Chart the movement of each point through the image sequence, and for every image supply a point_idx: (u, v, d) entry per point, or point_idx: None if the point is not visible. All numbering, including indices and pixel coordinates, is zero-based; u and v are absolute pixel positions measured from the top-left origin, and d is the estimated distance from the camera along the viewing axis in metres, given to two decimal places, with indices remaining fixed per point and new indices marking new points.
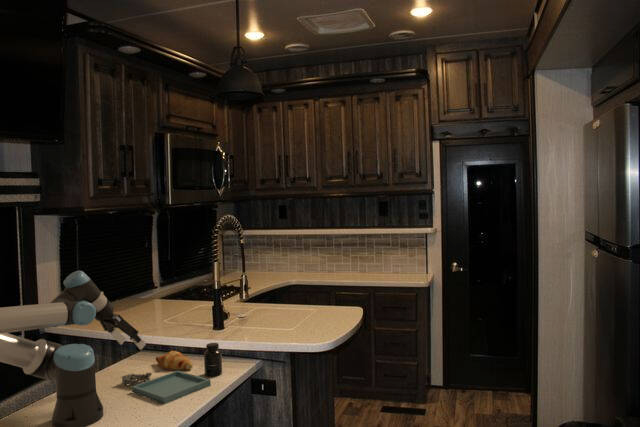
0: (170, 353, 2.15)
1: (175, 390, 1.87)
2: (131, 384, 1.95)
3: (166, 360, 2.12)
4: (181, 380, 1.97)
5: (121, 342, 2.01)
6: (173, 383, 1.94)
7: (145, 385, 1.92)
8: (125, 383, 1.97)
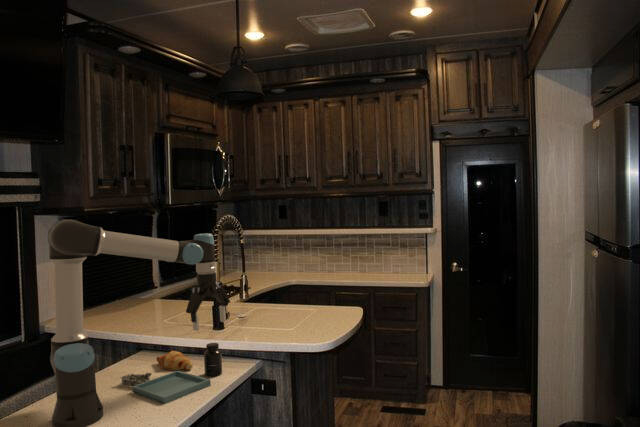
0: (170, 353, 2.15)
1: (175, 390, 1.87)
2: (131, 384, 1.95)
3: (166, 360, 2.12)
4: (181, 380, 1.97)
5: (221, 320, 2.10)
6: (173, 383, 1.94)
7: (145, 385, 1.92)
8: (125, 383, 1.96)
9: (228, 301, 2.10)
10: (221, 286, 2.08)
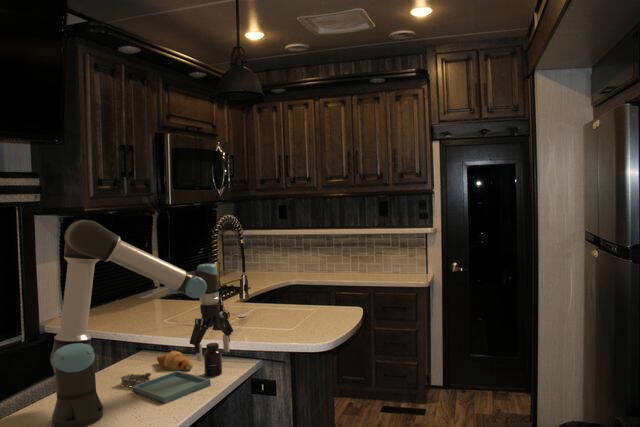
0: (171, 353, 2.15)
1: (175, 390, 1.87)
2: (131, 384, 1.95)
3: (166, 360, 2.12)
4: (181, 380, 1.97)
5: (224, 349, 2.10)
6: (173, 383, 1.94)
7: (145, 385, 1.92)
8: (124, 383, 1.96)
9: (231, 330, 2.11)
10: (224, 316, 2.08)
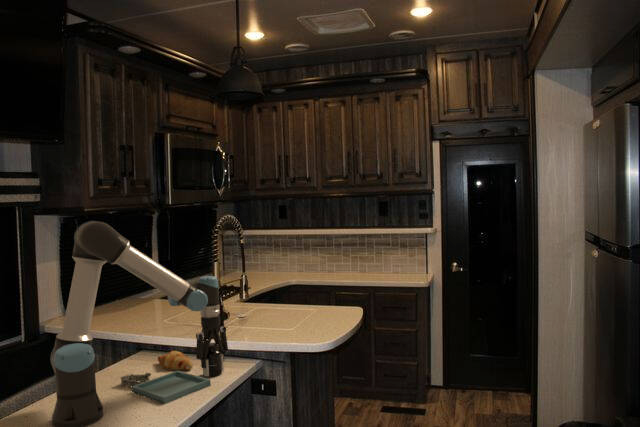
0: (171, 353, 2.16)
1: (175, 390, 1.87)
2: (130, 384, 1.95)
3: (166, 360, 2.13)
4: (181, 380, 1.97)
5: None
6: (173, 383, 1.94)
7: (145, 385, 1.92)
8: (124, 384, 1.96)
9: (226, 349, 2.09)
10: (224, 331, 2.08)
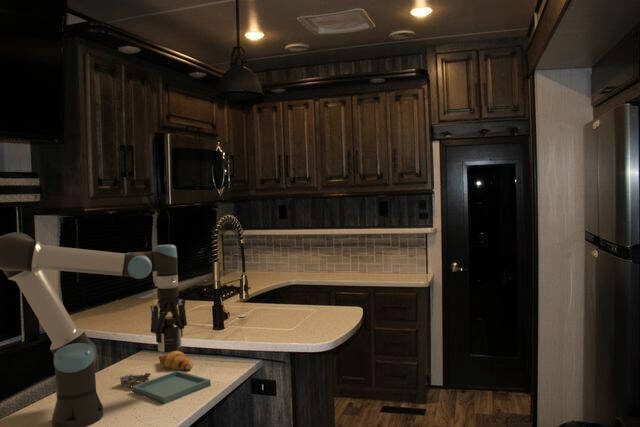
0: (171, 353, 2.16)
1: (175, 390, 1.87)
2: (130, 385, 1.94)
3: (167, 360, 2.13)
4: (181, 380, 1.97)
5: None
6: (173, 383, 1.94)
7: (145, 385, 1.92)
8: (124, 384, 1.96)
9: (185, 323, 1.95)
10: (183, 304, 1.94)
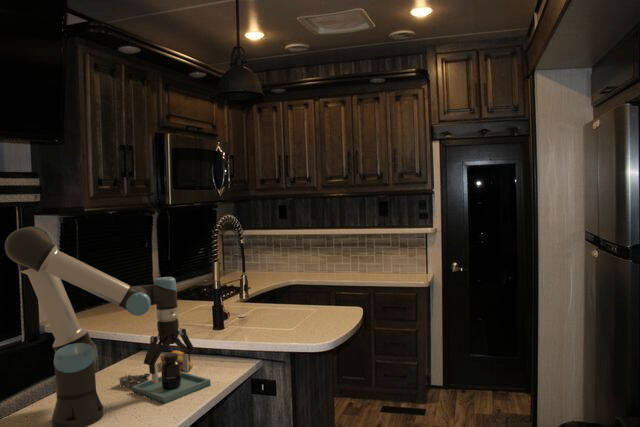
0: None
1: (175, 390, 1.87)
2: (129, 385, 1.94)
3: None
4: (181, 380, 1.97)
5: (184, 369, 1.96)
6: None
7: (145, 385, 1.92)
8: (123, 384, 1.95)
9: (192, 348, 1.97)
10: (184, 333, 1.94)
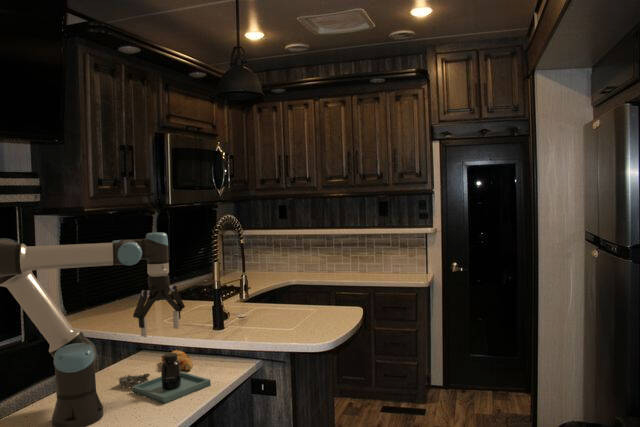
0: (173, 352, 2.16)
1: (175, 390, 1.87)
2: (129, 385, 1.94)
3: None
4: (181, 380, 1.97)
5: (174, 326, 1.95)
6: None
7: (145, 385, 1.92)
8: (123, 385, 1.95)
9: (183, 306, 1.96)
10: (175, 290, 1.93)
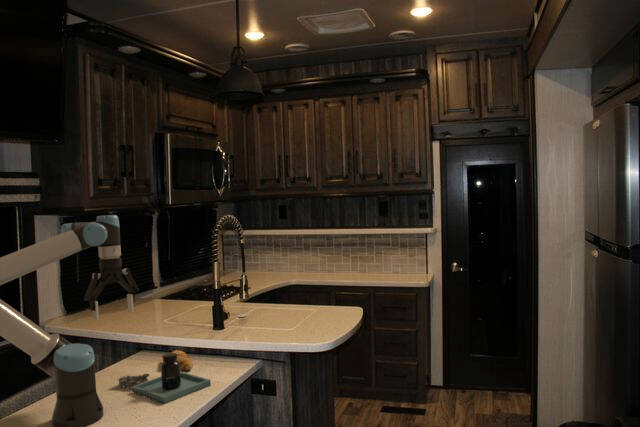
0: (173, 352, 2.16)
1: (175, 390, 1.87)
2: (129, 386, 1.94)
3: None
4: (181, 380, 1.97)
5: (128, 309, 1.94)
6: None
7: (145, 385, 1.92)
8: (122, 385, 1.95)
9: (137, 289, 1.94)
10: (128, 273, 1.92)
